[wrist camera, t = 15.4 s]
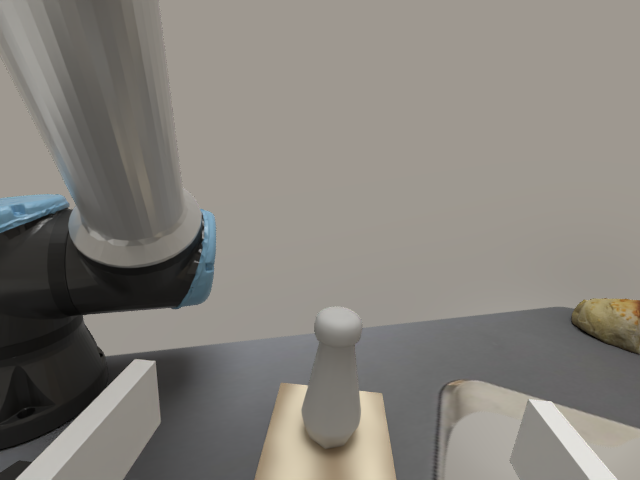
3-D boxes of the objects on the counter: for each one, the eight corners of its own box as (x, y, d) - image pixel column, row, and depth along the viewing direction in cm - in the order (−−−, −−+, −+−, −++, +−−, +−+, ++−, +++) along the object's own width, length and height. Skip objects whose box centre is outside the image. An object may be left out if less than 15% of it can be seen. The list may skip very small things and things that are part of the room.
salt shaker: (339, 402, 35) (350, 295, 32) (370, 443, 30) (386, 322, 27) (291, 419, 33) (297, 304, 29) (316, 467, 28) (326, 336, 24)
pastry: (678, 364, 53) (696, 321, 50) (588, 345, 56) (601, 304, 54) (630, 324, 65) (642, 289, 63) (559, 311, 69) (569, 277, 67)
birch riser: (253, 509, 27) (253, 483, 26) (280, 403, 38) (281, 382, 38) (395, 527, 26) (399, 500, 25) (379, 414, 38) (381, 393, 37)
